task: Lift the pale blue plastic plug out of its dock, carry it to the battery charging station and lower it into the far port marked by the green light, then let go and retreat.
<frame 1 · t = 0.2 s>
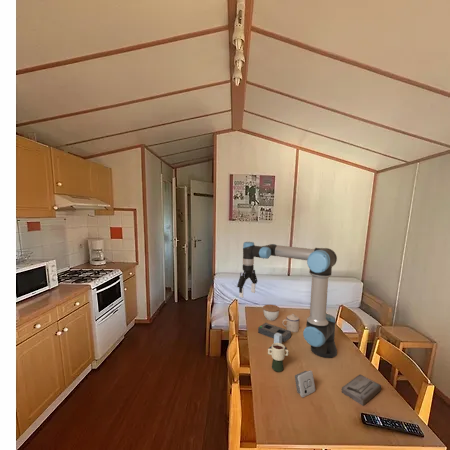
hand: (247, 294, 177), 28 cm above the table, fingers open, 13 cm apart
box: (361, 393, 124), on the table
teacup with lid: (290, 329, 186), on the table
plug: (277, 342, 158), in the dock
character mug: (277, 369, 140), on the table
electrical switch: (304, 392, 123), on the table
lidded bowl: (270, 318, 205), on the table
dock: (277, 350, 159), on the table
battery charging station: (274, 334, 178), on the table
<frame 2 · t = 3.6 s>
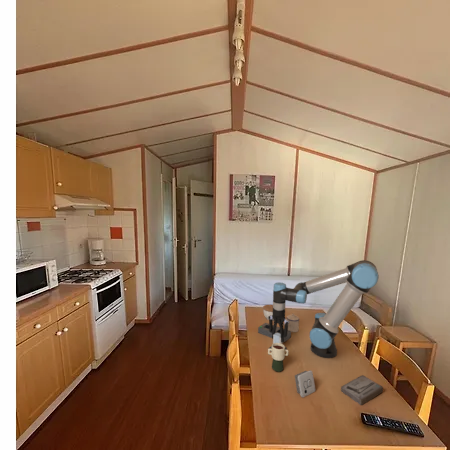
hand: (277, 345, 159), 3 cm above the table, fingers closed on plug, 3 cm apart
plug: (277, 342, 158), in the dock, touching gripper
when the fingers open (5 cm above the table, at t = 8.0 s): plug drops 2 cm, resting in battery charging station.
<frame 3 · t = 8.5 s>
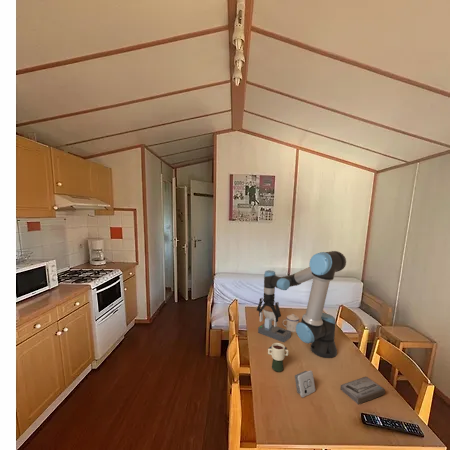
hand: (268, 323, 181), 6 cm above the table, fingers open, 11 cm apart
plug: (268, 325, 181), resting in battery charging station
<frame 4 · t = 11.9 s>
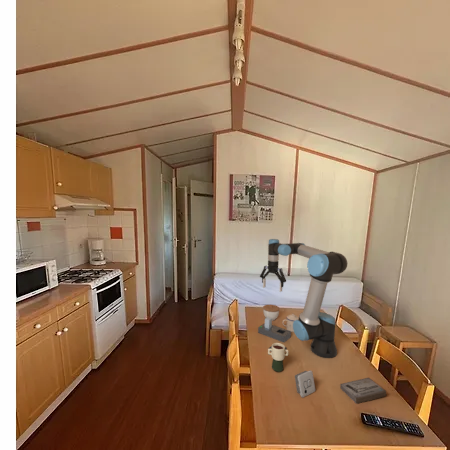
hand: (272, 289, 187), 29 cm above the table, fingers open, 13 cm apart
at the end: plug 0.1 cm from the target spot on the battery charging station, point 5.0 cm above the battery charging station's base; plug tilted 0°; the gripper is holding nothing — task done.
